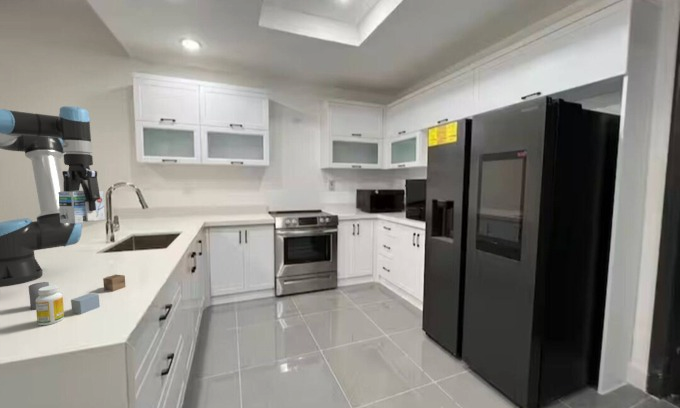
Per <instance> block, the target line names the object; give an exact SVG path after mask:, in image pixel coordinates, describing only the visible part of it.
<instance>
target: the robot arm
mask: <svg viewBox="0 0 680 408" xmlns="http://www.w3.org/2000/svg"><path fill="white" fill-rule="evenodd" d="M89 114H90V113H89V111H88V110H87V109H85V108H83V107H77V106H68V105H67V106H60V108H59V114H58V115H50V114H44V113H43V114H41V113H33V112H27V111H26V112H25V111H24V112H23V111H18V110H10V109H6V108H1V109H0V149H1V150H4V151H12V152H24V155H25V157H26V158H27V159H30V160H31V165H32V172H33V175H34V182H35V187H36V192H37V197H38V198H37V199H38V205H39V210H40V214H39V215H37V216H36V221H32V220H31V218H20V219H19V218H18V219H17V218H16V219H12V220H6V221H1V222H0V287H5V286H12V285H17V284H23V283H26V282H31V281H34V280H37V279H39V278H41V277H43V275H44V273H43V268H41V265H40V264H39V262H38V261H37V259H36V257H35V251H39V250H46V249H55V248H59V247H68V246H72V245H76V244H77V243H78V242H80V239H81V236H82V231H83V230H82V229H83V228H82V225H83V224H82V223H60V212H59V201H58V192H62V191H80V187H81V188H82V190H83V191H84V194H85V197H86V200H85V210H86V221H89V220H96V204H95V201H96V200H98V199H100V193H99V191H100V188H99V182H98V171H97V170H91V167H90V166H93V165H94V161H93V159H94V158H93V155H92V153H93V147H92V137H91V125H90V124H91V118H90V115H89ZM61 158H63V164H64V165H65V166H68V170H62V169H61V164H60V163H61V162H60V159H61Z"/></svg>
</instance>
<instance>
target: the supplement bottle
mask: <svg viewBox="0 0 680 408" xmlns="http://www.w3.org/2000/svg"><path fill="white" fill-rule="evenodd" d="M59 291H60V287H59V285H56V284H54V285H49V286H46V287H42V288H40V289H39V290H38V294H39V295H40V296H39V297H37V298H36V311H35V312H36V319H37V320H36V323H37V324H38V326H41V325H44V326H49V325H54V324H57V323H58V322H61V321H62V320H64V319H65V308H64V297H63V294H62V292H59Z"/></svg>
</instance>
